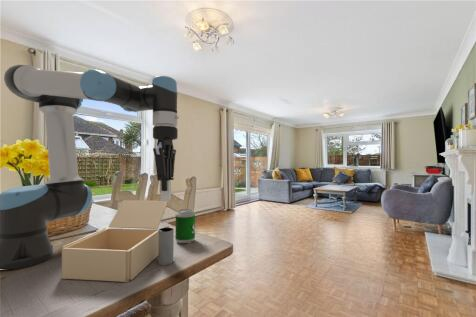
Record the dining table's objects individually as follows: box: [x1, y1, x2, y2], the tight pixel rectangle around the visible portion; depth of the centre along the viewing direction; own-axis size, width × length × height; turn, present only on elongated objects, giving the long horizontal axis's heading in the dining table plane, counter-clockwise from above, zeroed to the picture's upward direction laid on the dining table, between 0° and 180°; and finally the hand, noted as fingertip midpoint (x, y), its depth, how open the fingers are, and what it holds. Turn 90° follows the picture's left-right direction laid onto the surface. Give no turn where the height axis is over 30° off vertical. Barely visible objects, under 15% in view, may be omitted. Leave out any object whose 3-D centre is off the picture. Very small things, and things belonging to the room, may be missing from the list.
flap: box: [108, 199, 169, 230], centre depth 86 cm, size 18×1×12 cm
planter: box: [157, 226, 175, 266], centre depth 74 cm, size 4×4×10 cm
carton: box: [61, 227, 159, 283], centre depth 72 cm, size 20×20×8 cm
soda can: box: [175, 208, 196, 244], centre depth 93 cm, size 8×8×12 cm
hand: (166, 200), depth 75 cm, fingers closed
